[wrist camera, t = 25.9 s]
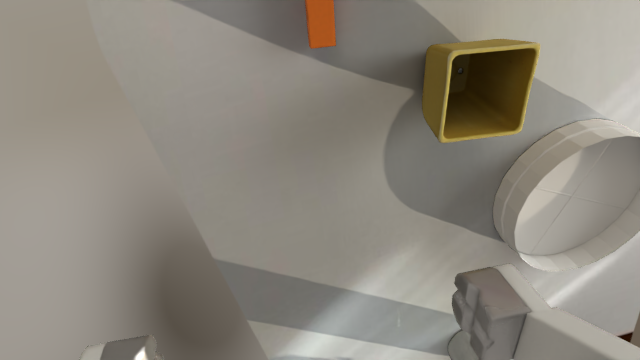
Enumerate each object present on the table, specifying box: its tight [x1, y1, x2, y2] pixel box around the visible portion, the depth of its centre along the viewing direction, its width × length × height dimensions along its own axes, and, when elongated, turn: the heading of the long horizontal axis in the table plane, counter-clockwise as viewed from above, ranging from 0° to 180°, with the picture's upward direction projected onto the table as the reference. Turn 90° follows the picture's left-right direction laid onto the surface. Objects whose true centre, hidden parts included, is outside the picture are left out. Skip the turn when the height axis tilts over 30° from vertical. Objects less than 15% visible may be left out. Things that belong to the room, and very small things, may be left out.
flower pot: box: [422, 39, 540, 143], centre depth 40 cm, size 9×9×9 cm
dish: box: [493, 119, 640, 271], centre depth 54 cm, size 22×22×5 cm
